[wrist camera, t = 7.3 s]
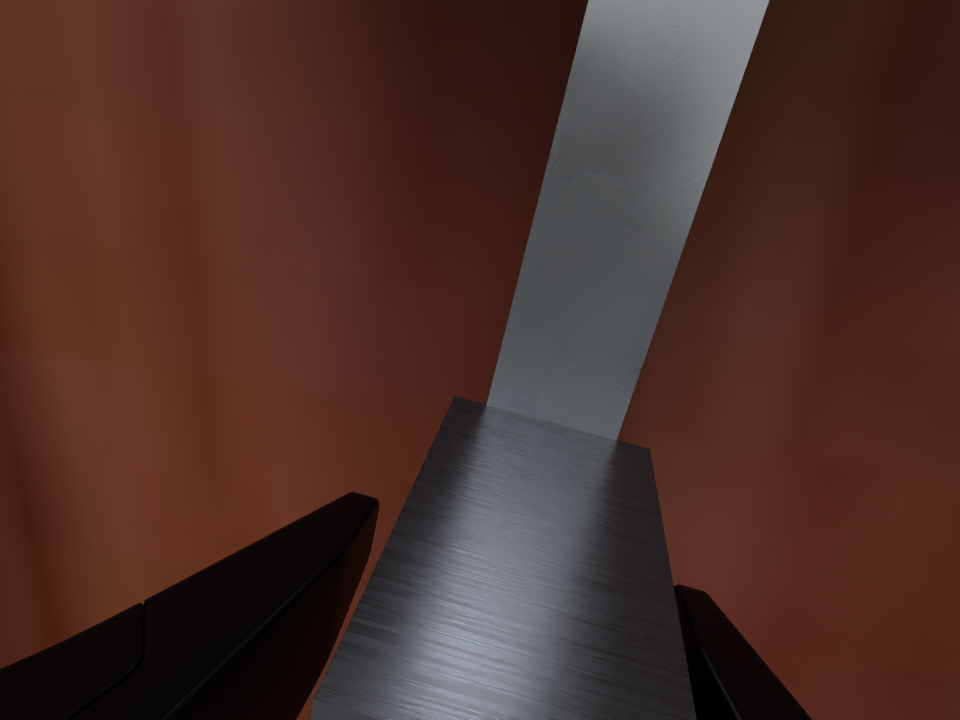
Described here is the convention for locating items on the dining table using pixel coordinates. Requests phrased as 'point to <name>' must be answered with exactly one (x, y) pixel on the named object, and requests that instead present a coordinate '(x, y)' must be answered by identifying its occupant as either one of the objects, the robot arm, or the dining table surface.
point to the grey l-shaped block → (561, 419)
